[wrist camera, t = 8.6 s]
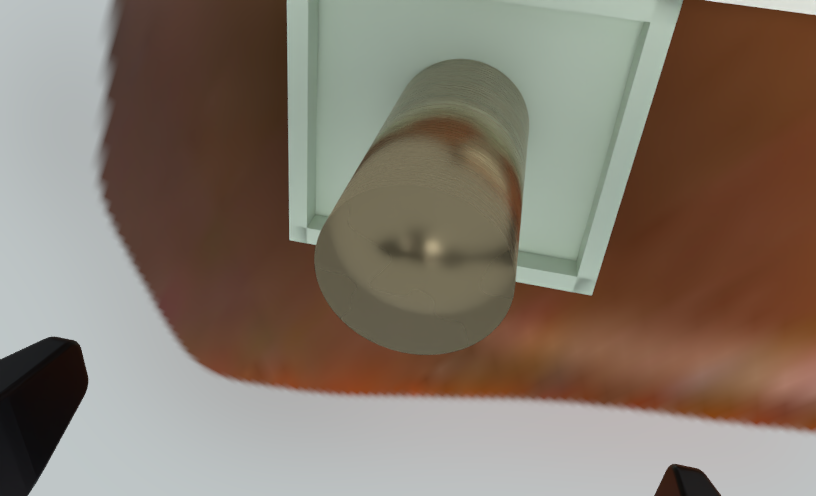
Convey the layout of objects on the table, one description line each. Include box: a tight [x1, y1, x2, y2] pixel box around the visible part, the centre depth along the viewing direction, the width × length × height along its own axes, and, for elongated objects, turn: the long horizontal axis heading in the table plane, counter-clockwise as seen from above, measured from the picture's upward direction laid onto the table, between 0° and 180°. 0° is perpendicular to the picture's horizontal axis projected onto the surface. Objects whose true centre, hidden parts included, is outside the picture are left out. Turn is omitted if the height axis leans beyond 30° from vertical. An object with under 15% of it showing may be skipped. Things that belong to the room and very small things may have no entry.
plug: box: [314, 59, 529, 355], centre depth 16 cm, size 4×4×8 cm
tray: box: [287, 0, 683, 296], centre depth 19 cm, size 10×9×2 cm
